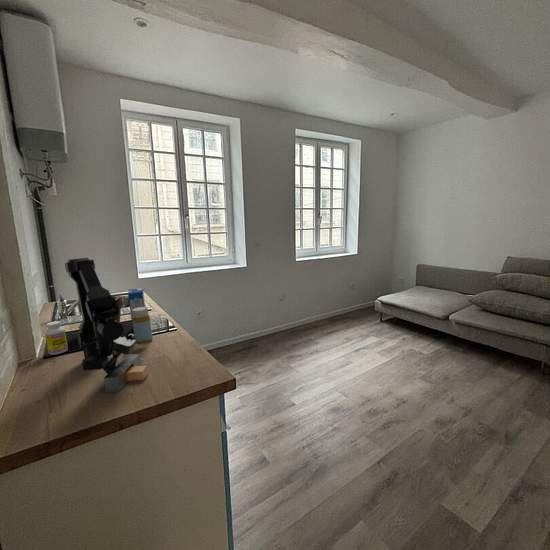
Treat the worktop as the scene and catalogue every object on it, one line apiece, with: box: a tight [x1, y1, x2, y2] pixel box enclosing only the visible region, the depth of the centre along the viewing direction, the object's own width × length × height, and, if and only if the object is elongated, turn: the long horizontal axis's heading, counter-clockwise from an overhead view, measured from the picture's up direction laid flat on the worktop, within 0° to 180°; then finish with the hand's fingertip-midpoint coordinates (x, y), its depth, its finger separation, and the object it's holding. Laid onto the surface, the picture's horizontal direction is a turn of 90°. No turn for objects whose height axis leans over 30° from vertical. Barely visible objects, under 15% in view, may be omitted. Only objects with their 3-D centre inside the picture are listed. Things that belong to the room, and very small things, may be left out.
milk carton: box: [127, 287, 146, 334], centre depth 141 cm, size 10×6×20 cm, turn 23°
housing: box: [103, 353, 142, 393], centre depth 96 cm, size 4×16×5 cm, turn 2°
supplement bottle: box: [44, 320, 69, 356], centre depth 119 cm, size 7×7×13 cm
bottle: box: [132, 306, 154, 345], centre depth 127 cm, size 7×7×15 cm
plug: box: [126, 365, 149, 382], centre depth 96 cm, size 10×4×3 cm, turn 93°
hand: (111, 375), depth 96 cm, fingers closed, pressing on plug
